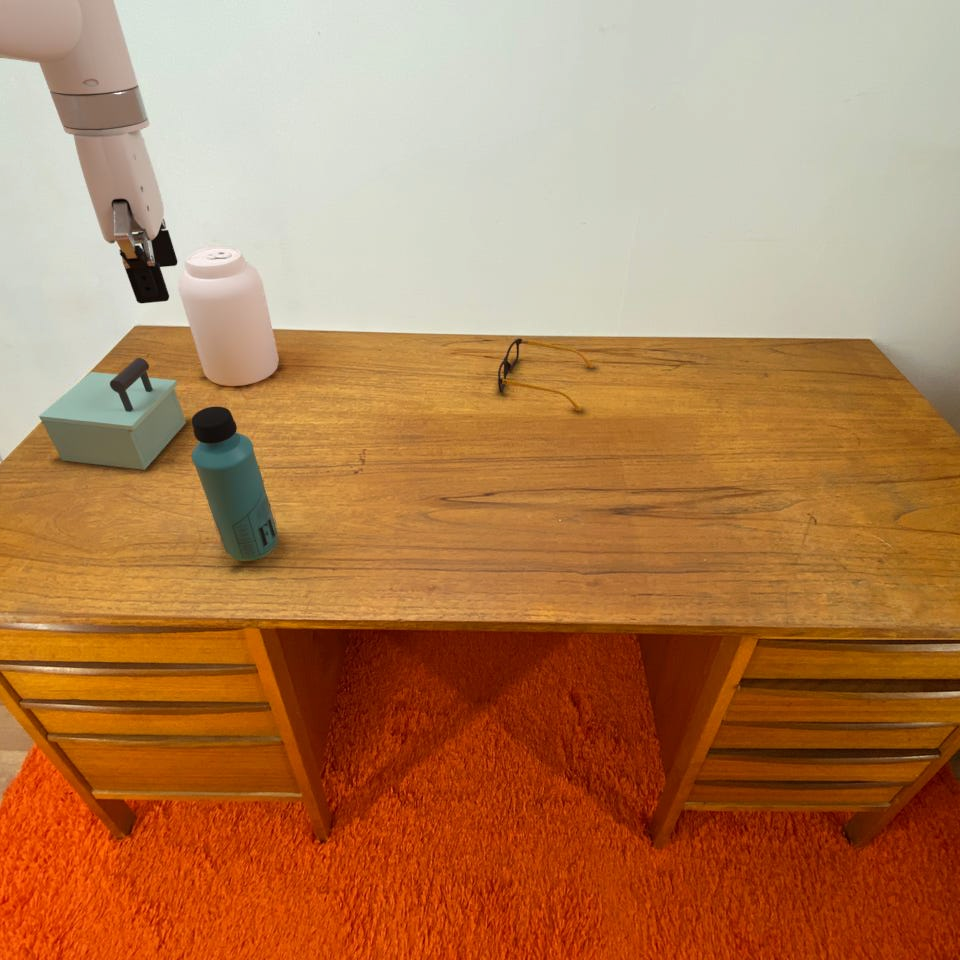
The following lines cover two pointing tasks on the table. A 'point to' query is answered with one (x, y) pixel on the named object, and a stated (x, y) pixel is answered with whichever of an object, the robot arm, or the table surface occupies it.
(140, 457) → the cool box
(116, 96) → the robot arm
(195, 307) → the can
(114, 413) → the lid
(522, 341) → the eyeglasses
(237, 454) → the beverage bottle
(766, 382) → the table surface
